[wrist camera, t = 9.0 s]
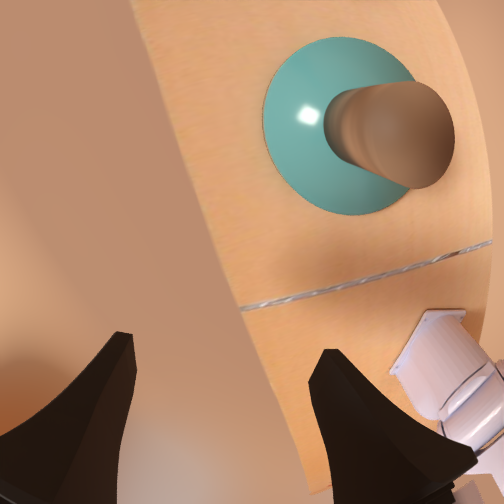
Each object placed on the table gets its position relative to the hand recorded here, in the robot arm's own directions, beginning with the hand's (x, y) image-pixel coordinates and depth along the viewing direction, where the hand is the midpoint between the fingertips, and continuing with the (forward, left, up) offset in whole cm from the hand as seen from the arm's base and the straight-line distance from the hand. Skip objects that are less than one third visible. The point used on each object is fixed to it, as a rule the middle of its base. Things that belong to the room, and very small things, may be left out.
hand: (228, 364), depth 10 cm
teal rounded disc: (+10, -7, -10) cm, 16 cm away
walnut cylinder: (+10, -7, -9) cm, 15 cm away
